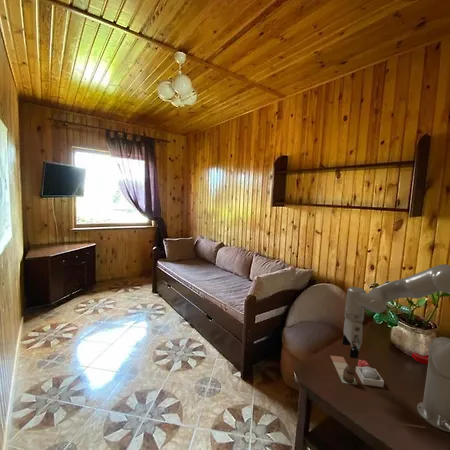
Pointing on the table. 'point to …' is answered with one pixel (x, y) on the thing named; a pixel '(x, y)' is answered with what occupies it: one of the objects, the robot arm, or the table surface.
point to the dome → (369, 373)
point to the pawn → (348, 374)
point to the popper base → (367, 381)
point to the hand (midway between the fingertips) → (349, 350)
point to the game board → (342, 365)
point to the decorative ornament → (420, 358)
